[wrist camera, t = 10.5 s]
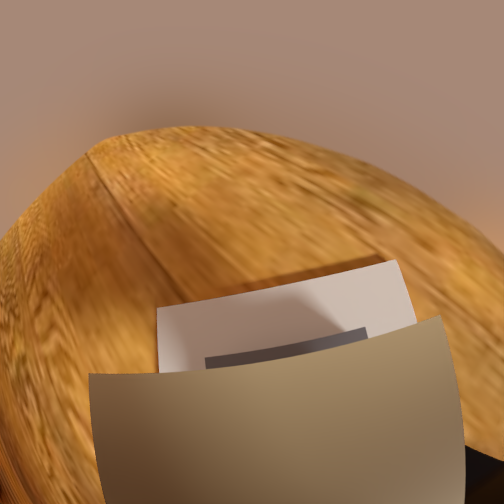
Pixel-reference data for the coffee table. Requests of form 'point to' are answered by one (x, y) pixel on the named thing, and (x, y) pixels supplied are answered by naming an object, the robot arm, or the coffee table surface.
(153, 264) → the coffee table surface
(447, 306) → the coffee table surface
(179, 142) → the coffee table surface
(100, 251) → the coffee table surface
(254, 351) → the plate
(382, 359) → the walnut post
